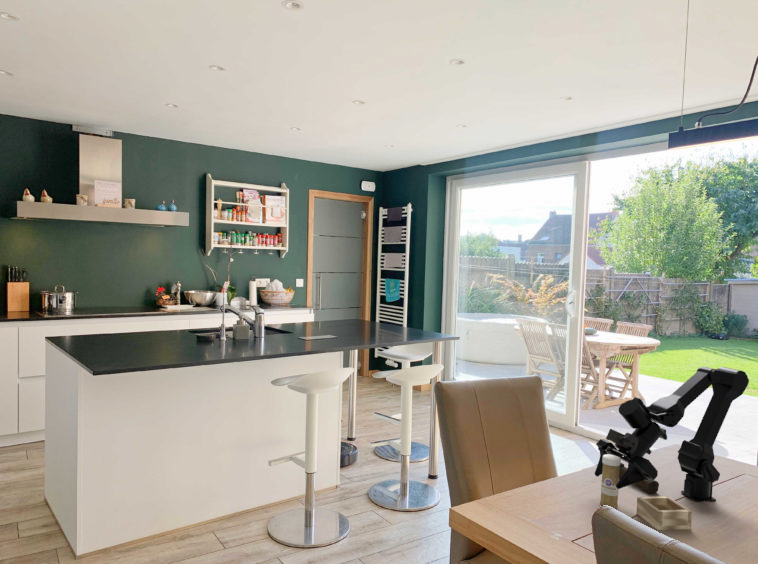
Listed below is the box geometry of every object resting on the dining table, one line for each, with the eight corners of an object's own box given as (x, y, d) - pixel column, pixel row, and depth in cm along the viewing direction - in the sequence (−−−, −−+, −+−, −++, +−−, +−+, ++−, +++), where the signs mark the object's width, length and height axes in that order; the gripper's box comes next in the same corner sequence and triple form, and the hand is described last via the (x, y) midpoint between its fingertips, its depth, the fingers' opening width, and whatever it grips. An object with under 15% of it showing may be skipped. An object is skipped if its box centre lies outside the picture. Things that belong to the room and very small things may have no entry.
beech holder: (667, 513, 147) (668, 496, 147) (690, 529, 138) (692, 511, 138) (636, 513, 146) (637, 497, 146) (658, 529, 137) (659, 512, 137)
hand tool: (659, 494, 161) (660, 478, 160) (648, 495, 159) (649, 479, 159) (614, 471, 179) (615, 456, 179) (604, 471, 178) (604, 457, 177)
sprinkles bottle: (600, 506, 149) (602, 457, 149) (600, 500, 154) (602, 452, 153) (618, 510, 148) (621, 460, 147) (617, 503, 152) (620, 455, 152)
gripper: (603, 411, 160) (568, 450, 157) (651, 429, 142) (612, 474, 140) (624, 436, 163) (590, 476, 160) (674, 458, 145) (636, 503, 142)
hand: (606, 481), depth 150 cm, fingers open, 8 cm apart
